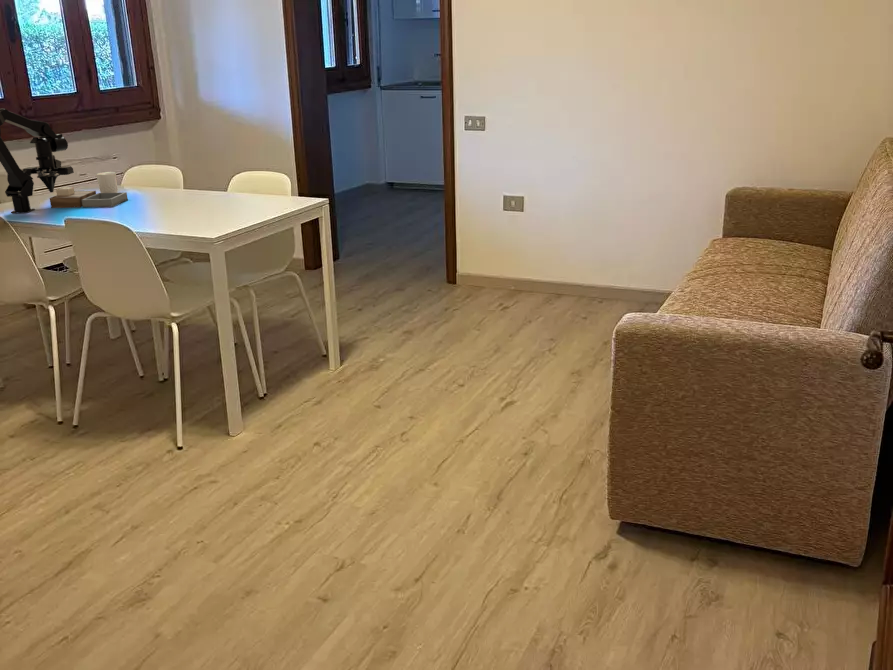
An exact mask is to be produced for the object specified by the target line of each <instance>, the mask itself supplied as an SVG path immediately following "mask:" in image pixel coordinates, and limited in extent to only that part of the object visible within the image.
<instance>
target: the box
mask: <svg viewBox="0 0 893 670" xmlns="http://www.w3.org/2000/svg"><path fill="white" fill-rule="evenodd" d="M127 200H128V193H127V191H124V192H123V191H122V192H119V191H118V193H101V192H98V193H97V192H96V194H95V195H92V196H90V197H87V198H85V199H83V200H82V205H83V206H82V208H106V207H107V208H108V207H109V208H111V207H114V206H117V205H119V204H121V203H123V202H125V201H127Z"/></svg>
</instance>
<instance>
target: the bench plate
mask: <svg viewBox="0 0 893 670" xmlns="http://www.w3.org/2000/svg"><path fill="white" fill-rule="evenodd" d="M95 194H97V191H96V190H74V194H71V195H65V196H57V194H56V195H54V196H52V197H49V203H50V209H65V208H83V205H82V200H83V199H85V198H87V197H90V196H92V195H95Z"/></svg>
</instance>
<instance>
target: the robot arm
mask: <svg viewBox="0 0 893 670" xmlns="http://www.w3.org/2000/svg"><path fill="white" fill-rule="evenodd" d="M4 122H5V123H7V124H10V125H13V126H16V127H18V128H21V129H23V130H24V131H26V133H28V134H30V136H33V137H32V139H30V142H29V144H34V146H35V151H36V157H35V160H36V161H37V162H38V167H37V166H32V167H25V168H23V169H21V168H20V166H19V165H18V163H17V161H16V160H15V157H14V156H13V155H12V153H11V152H10V150H9V148H8V146H7V145H6V143H5V142H4V140H3V138H2V136H1V128H0V164H1V165H2V167H3V169H4V171H5V172H6V175H7V178H6V179H7V180H6V181H7V183H8V186H7V187H6V189H5V192H4V193H5V195H6V197H7V198H8V197H11V200H12V205H13V209H14V210H12V211H10V213H11V214H26V213H29V212H33V211H35V208H31V202H30V199H29V197H31V196H32V197H33V195H34V185H35V183H34V178H33V176H32V175H37V176H36V178H37V179H38V178H39V180H41V182H42V183H43V184H44V186H45V188H47V190H48V191H49V193H54V190H55V185H56V182H57V178H58V177H59V176H68V175H71V174H74V168H73V167H72V166H71V165H70V166H66V165H64V166H62V161H61V160H59V159H56V156H55V155H53V153H57V152H65V151H66V150H67V149H68V146H69V142H68V141H67V139H66V138H65V137H64V136H63V134H62V133H55V131H54V130H53V129H52V128H51V126H50V123H48V122H47V121H42V120H41V121H40V120H34V119H31V118H30V119H29V118H27V117H24V116H23V115H20V114H17V113H15V112H12V111H10V110H8V109H7V108H0V127H2V126H3V124H4Z"/></svg>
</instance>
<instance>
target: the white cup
mask: <svg viewBox="0 0 893 670" xmlns="http://www.w3.org/2000/svg"><path fill="white" fill-rule="evenodd" d="M96 180H97V184H98V189H99V193H119V191H118V182H117V172H115V171H107V172H105V171H104V172H98V173H96Z"/></svg>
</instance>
